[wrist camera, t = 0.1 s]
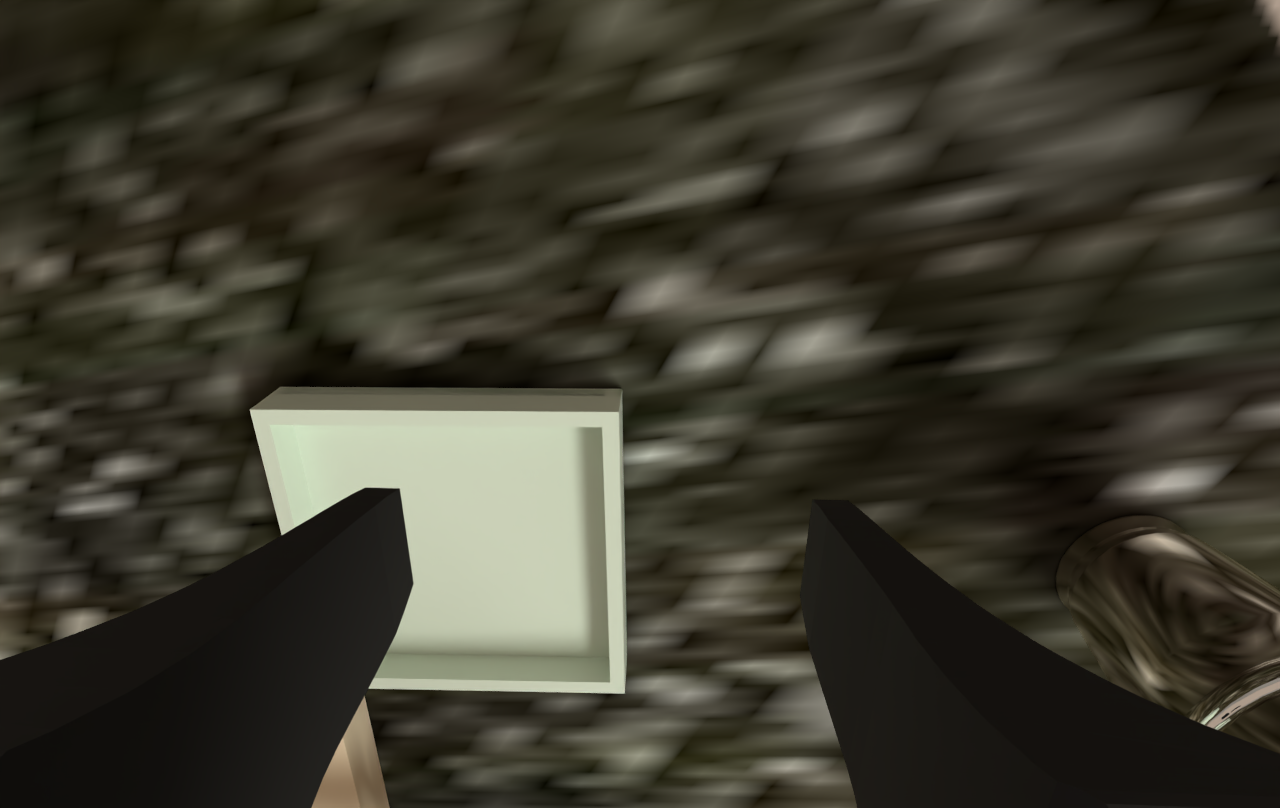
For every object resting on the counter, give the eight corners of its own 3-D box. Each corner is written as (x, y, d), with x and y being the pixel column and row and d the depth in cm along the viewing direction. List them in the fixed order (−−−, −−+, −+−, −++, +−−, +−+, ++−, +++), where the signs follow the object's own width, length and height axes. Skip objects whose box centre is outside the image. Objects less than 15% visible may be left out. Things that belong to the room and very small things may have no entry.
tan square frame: (395, 833, 31) (378, 879, 29) (176, 827, 31) (145, 873, 29) (357, 661, 27) (334, 702, 25) (105, 656, 27) (65, 697, 25)
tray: (627, 656, 26) (624, 693, 25) (341, 651, 27) (320, 687, 25) (621, 388, 22) (618, 411, 20) (280, 386, 22) (249, 409, 20)
